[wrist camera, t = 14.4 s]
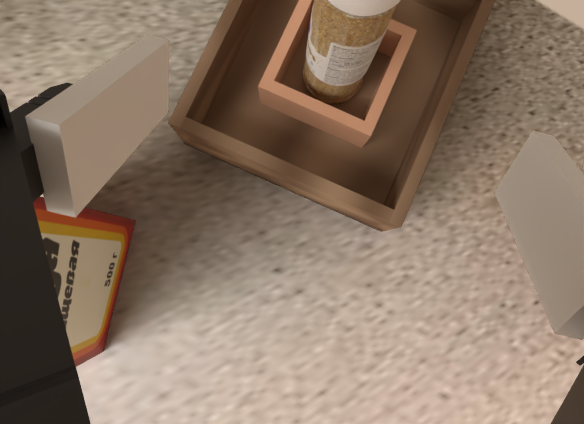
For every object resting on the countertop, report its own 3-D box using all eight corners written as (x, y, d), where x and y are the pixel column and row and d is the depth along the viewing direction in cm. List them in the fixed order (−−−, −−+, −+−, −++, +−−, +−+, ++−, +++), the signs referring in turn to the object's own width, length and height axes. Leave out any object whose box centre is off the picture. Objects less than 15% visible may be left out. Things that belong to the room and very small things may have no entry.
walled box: (185, 144, 31) (168, 122, 26) (283, -57, 33) (285, -113, 28) (381, 231, 31) (401, 226, 26) (468, 24, 33) (502, -17, 28)
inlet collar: (259, 102, 30) (257, 86, 27) (304, 8, 31) (307, -18, 28) (361, 148, 30) (370, 136, 27) (403, 51, 31) (417, 30, 28)
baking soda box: (47, 202, 30) (-210, 142, 14) (135, 220, 30) (-22, 181, 14) (11, 333, 29) (-310, 427, 13) (103, 351, 29) (-106, 466, 13)
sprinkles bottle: (302, 47, 31) (318, -112, 18) (362, 48, 31) (424, -108, 18) (301, 106, 30) (317, -11, 17) (363, 107, 31) (426, -8, 17)
